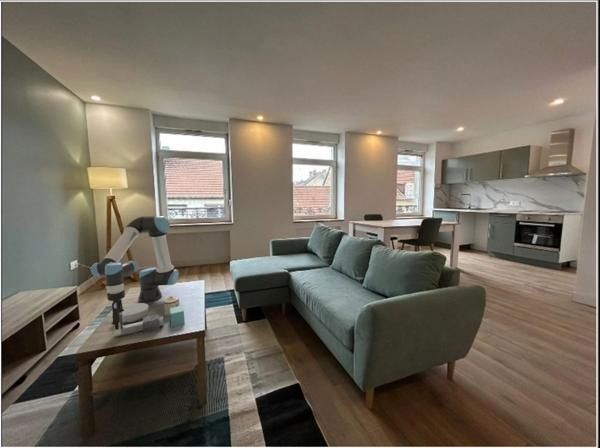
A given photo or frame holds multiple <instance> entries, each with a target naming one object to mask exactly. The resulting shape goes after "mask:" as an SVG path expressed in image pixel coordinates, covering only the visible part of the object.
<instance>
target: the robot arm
mask: <svg viewBox="0 0 600 448" xmlns="http://www.w3.org/2000/svg"><path fill="white" fill-rule="evenodd" d="M170 225H171V224H170V221H169V219H168V218H167V217H166V216H162V215H150V216H149V215H147V216H145V215H144V216H143V215H142V216H139V217H136V218H135V219H133V220H131V221H130V222H129V223H128V224H127V225H126V226H125V227H123V228H124V229H123V233H122V234H121V235H120V237H119V238H117V240H116V242H115V243H114V244H113V246H112V247H111V248H110V250H108V253H107V254H106V255H105V256H104V257H103V259H102V260H101V262H95V263H93V264H92V265H91V268H90V272H91V274H92V275H93V276H95V277H105V283H106V286H105V287H104V289H106V293H107V294H106V297H107V300H108V301H109V302H112V303H111V307H112V310H111V311H112V322H111V325H113V333H114V335H113V336H115V335H119V334H121V327H120V321H119V315H122V318H123V312H122V311H124V309H123V307H124V306H123V301H122V299H124V298H125V297H126V293H125V292H126V291H125V281H124V278H126V277H128V276H130V275H133V274H134V273H136V272H137V271H139V264H138V262H136V261H134V260H128V261H125V262H123V261H122V262H120V261H121V260H122V258H123V256H124V255H125V253H127V251H128V249H129V248H130V246H131V245H132V244H133V242H134V241H135V239H136V238H138V237H140V235H141V234H147V233H148V237H150V238H151V240H152V245H153V250H154V253H155V259H156V263H157V267H149V268H145V269H142V270H141V271H139V275H138V276H139V277H138V278H139V288H140V291H139V294H138V302H139V303H145V304H147V303H152V302H156V301H157V300H160V299H161V298H162V296H163V294H162V291H161V290H160V286H174V285H176V283H177V282H178V279H179V275H180V271H179V270H178V269H175V265H173V264H172V262H171V256H170V252H169V246H168V241H167V235H168V232H169V231H170V230H171V229H170V227H171V226H170ZM124 323H125V322H124V321H123V324H124Z"/></svg>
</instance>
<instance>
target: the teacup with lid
mask: <svg viewBox="0 0 600 448" xmlns="http://www.w3.org/2000/svg"><path fill="white" fill-rule="evenodd" d="M177 306H180V298H179V297H177V296H173V294H172V295H169V297H168V298H165V299H164V300H163V307H164V315H165V316H168V317H170V308H173V307H177Z"/></svg>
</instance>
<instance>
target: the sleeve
mask: <svg viewBox="0 0 600 448" xmlns="http://www.w3.org/2000/svg"><path fill="white" fill-rule="evenodd" d="M159 317H160V314H159V313H157V314H156V313H155V314H153V315H148V316H147V315H146V316H144V317H143V318H142V321H143V330H142V331H143V334H145V333H149V332H154V331H157V330H160V329H161V328H160V327H161V326H160V324H159Z"/></svg>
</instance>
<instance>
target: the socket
mask: <svg viewBox="0 0 600 448" xmlns="http://www.w3.org/2000/svg"><path fill="white" fill-rule="evenodd" d="M169 317H170V318H169V319H170V325H171V327H172V328H173V327H176V326H181V325H184V324H185V310H184V307H183V305H179V306H177V307H173V308H170V316H169Z"/></svg>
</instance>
